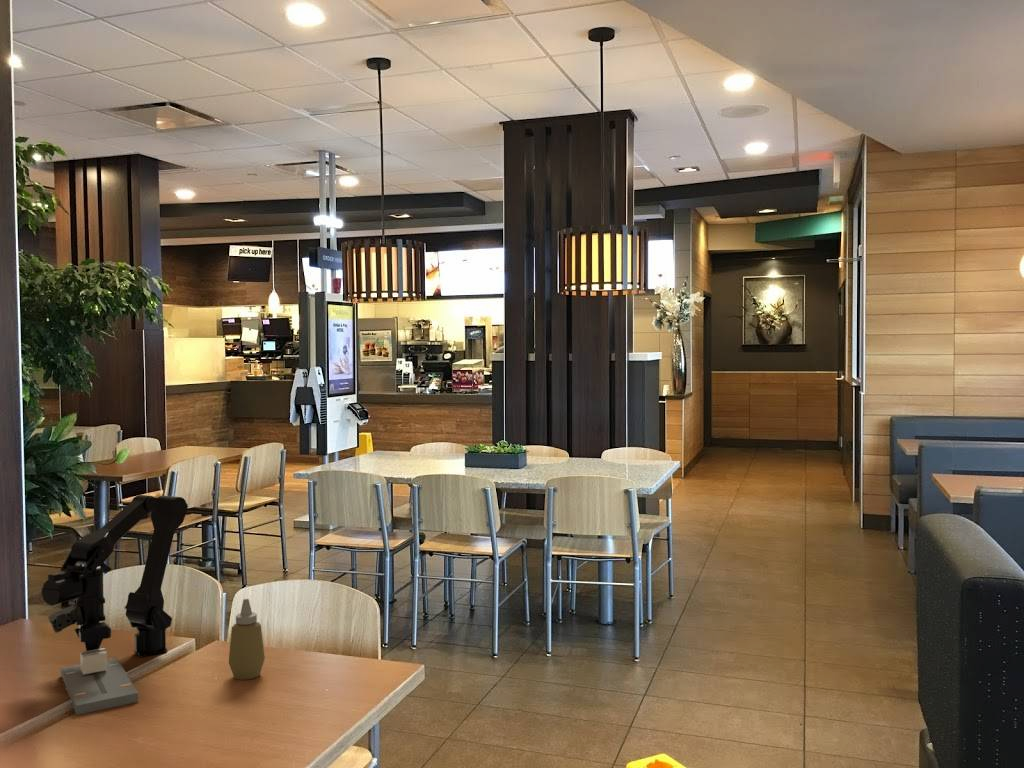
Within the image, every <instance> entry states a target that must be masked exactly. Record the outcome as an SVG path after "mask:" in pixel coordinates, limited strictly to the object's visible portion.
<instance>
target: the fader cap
mask: <svg viewBox="0 0 1024 768" xmlns="http://www.w3.org/2000/svg"><path fill="white" fill-rule="evenodd" d="M79 656H80V661H79V662H80V665H81V671H82V673H83V674H89V673H94V672H99V671H105V670H107V659H108V653H107V649H106V648H104V647H102V648H100V647H99V649H95V650H89V651H86V650H84V651H80V653H79Z"/></svg>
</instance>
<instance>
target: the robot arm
mask: <svg viewBox="0 0 1024 768" xmlns="http://www.w3.org/2000/svg"><path fill="white" fill-rule="evenodd" d="M188 509H189V505H188V503H187V500H185V498H183V497H181V496H173V495H172V496H171V495H160V496H158V497H155V496H153V495H147V494H138V495H135V496H134V497H133V498H132V500H131V502H130V503H128V504H127V505H126V506H125V507H124V508H122V510H120V511H119V512H118V513H117V514H115V516H114V517H112V518H111V519H110V520H109V521H108V522H107V523H105V525H103V526H102V527H101V528H99V529H98V530H96V531H94V532H91V533H89V534H86V535H84V536H83V537H81V538H79V539H78V540H76V541H75V542H74V543H73V544H72V545H71V548H70V549H71V550H70V552H69V554H68V556H67V557H66V559H65V561H64V562H63V565H62V566H61V567H60V572H57V573H54V572H53V573H50V574H48V575H47V580H46V581H45V582H44V583H43V585H42V588H41V596H42V598H43V600H44V603H46V604H47V605H49V606H56V605H59V604H62V603H66V602H69V601H72V600H73V604H72V605H71V606H70V605H69V606H67V607H66V608H65V607H64V608H62V609H61V610H58V611H56V612H54V613H52V614H50V615H49V616H48V620H49V623H50V625H51V627H52V630H53V631H54V633H56V634H57V633H60V632H62V631H63V630H64V629H66V628H68V627H70V626H73V625H75V624H76V626H78V628H74V632H75V633H76V636H77V638H78V639H79V641H80V643H83V644H84V648H85V651H89V650H95V649H100V646H101V645H102V642H103V640H105V639H110V638H112V628H111V626H110V625H109V624H107V622H105V621H106V615H105V612H104V610H105V609H104V608H105V605H104V604H106V598H105V597H104V594H105V593H104V573H107V572H110V571H112V567H110V566H109V565H107V564H106V561H107V560H108V558H109V557H110V556H111V555H112V553H113V552H114V550H115V545H116V544H117V543H118V542H119V540H121V539H122V538H123V537H124V536H125V535H126V534H127V533H128V532H129V531H130V530H131V529H132V528H133V527H135V526H136V525H137V524H138V523H140V522H141V520H143V519H144V518H145V517H146V516H148V514H149V513H150V519H151V524H152V527H153V532H152V536H151V539H150V544H149V548H148V553H147V557H146V560H145V564H144V567H143V568H144V569H143V572H142V576H141V580H140V585H139V587H138V588H137V589H136V590H135V591H134V592H133V591H130V592H129V593H128V595H127V601H126V604H125V606H124V609H125V617H126V618H127V620H128V622H129V623H130V627H131V628H133V629H134V628H136V633H135V634H134V639H133V640H134V651H135V652H136V653H137V654H138V656H139V655H140V656H143V657H145V656H144V655H148V656H152V655H151V654H154V655H156V654H155V653H159V654H161V653H160V652H164V653H167V652H168V648H166V646H167V642H166V631H167V629H168V628H170V627H171V625H172V620H173V617H172V616H171V615H169V614H168V613H167V612H166V611H165V610H164V604H165V599H164V596H163V592H162V585H163V581H164V576H165V573H166V570H167V564H168V560H169V556H170V552H171V547H172V543H173V540H174V537H175V532H176V531H177V530H178V529H179V528H180V527H181V525H182V524H183V523H184V520H185V518H186V515H187V513H188ZM166 651H167V652H166ZM140 656H139V657H140Z"/></svg>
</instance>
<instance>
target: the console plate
mask: <svg viewBox="0 0 1024 768" xmlns="http://www.w3.org/2000/svg"><path fill="white" fill-rule="evenodd" d="M61 676H62V678H63V680H62V682H63V681H64V683H65V685H64V687H65V686H66V688H67V690H66V692H67V691H68V693H69V695H68V697H69V696H70V698H71V700H70V702H71V701H72V703H71V705H72V707H73V711H74V713H75V716H79V715H84V714H89V713H93V712H97V711H101V710H102V711H103V710H106V709H107V710H108V709H111V708H112V709H113V708H115V707H121V706H122V707H123V706H126V705H130V704H136V703H139V691H138V690H137V688H136V687H135V684H134V683H133V681H132V680H131V678H130V677H129V676H128V674H127V672H126V671H125V669H124V667H123V666H122V663H121V662H120V660H119V659H118V658H117V657H114V658H107V670H105V671H99V672H94V673H89V674H83V673H82V671H81V665H80V664H74V665H70V666H63V667H60V677H61ZM62 678H61V679H62ZM64 683H63V684H64ZM66 688H65V689H66ZM68 693H67V694H68ZM70 698H69V699H70Z"/></svg>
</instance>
